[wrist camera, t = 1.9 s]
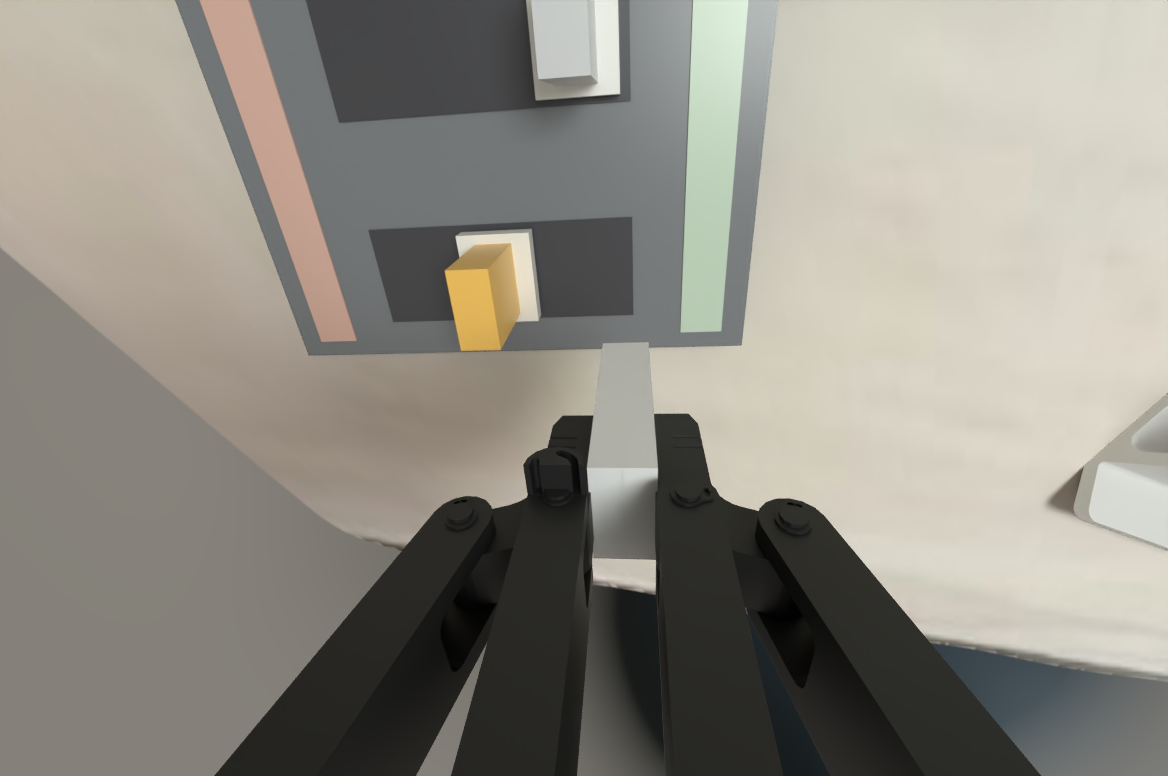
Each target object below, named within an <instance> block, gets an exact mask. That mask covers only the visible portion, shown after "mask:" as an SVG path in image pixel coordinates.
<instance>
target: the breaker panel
mask: <svg viewBox="0 0 1168 776" xmlns="http://www.w3.org/2000/svg"><path fill="white" fill-rule="evenodd" d="M175 1H176V4H177V6H178V9H179V12H180V14H181V17H182V20H183V22H184V25H185V28H186V30H187V33H188V36H189V38H190V41H191V44H192V46H193V49H194V52H195V54H196V57H197V60H198V62H199V65H200V68H201V70H202V73H203V76H204V78H205V81H206V84H207V86H208V89H209V91H210V94H211V97H212V99H213V102H214V105H215V107H216V110H217V113H218V115H219V118H220V121H221V123H222V126H223V129H224V131H225V134H226V137H227V139H228V142H229V145H230V147H231V150H232V153H233V155H234V158H235V161H236V163H237V166H238V169H239V171H240V174H241V177H242V179H243V182H244V184H245V187H246V190H247V192H248V195H249V198H250V200H251V203H252V206H253V208H254V211H255V214H256V216H257V219H258V222H259V224H260V227H261V230H262V232H263V235H264V238H265V240H266V243H267V246H268V248H269V251H270V254H271V256H272V259H273V262H274V264H275V267H276V269H277V272H278V275H279V277H280V280H281V283H282V285H283V288H284V291H285V293H286V296H287V299H288V301H289V304H290V307H291V309H292V312H293V315H294V317H295V320H296V323H297V325H298V328H299V331H300V333H301V336H302V339H303V341H304V344H305V347H306V349H307V352H308V354H309V355H351V354H394V353H437V352H480V351H523V350H566V349H602V347H603V343H639V342H649V348H652V347H695V346H738V345H742V336H743V327H744V317H745V308H746V299H747V289H748V280H749V270H750V261H751V252H752V242H753V233H754V223H755V214H756V205H757V195H758V186H759V176H760V167H761V158H762V148H763V139H764V129H765V120H766V111H767V101H768V92H769V82H770V73H771V63H772V54H773V45H774V35H775V26H776V16H777V7H778V0H175ZM517 229H532V237H533V245H534V254H535V263H536V272H537V281H538V290H539V299H540V308H541V317H540V319H539V321H523V322H516V323H515V325H514V326H513V328H512V330H511V332H510V334H509V336H508V338H507V339H506V341H505V343H504V345H503V347H502V349H501V350H480V351H461V348H460V343H459V338H458V334H457V329H456V324H455V319H454V314H453V309H452V304H451V299H450V295H449V290H448V285H447V280H446V275H445V270H446V269H447V268H448V267H449V266H451V265H452V264H453V263H454V262H455V261H456V260H458V259H459V253H458V247H457V242H456V237H455V236H456V235H458V234H459V233H461V232H476V231H497V230H517Z"/></svg>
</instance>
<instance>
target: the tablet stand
mask: <svg viewBox="0 0 1168 776" xmlns="http://www.w3.org/2000/svg"><path fill="white" fill-rule="evenodd" d="M1074 513H1075V515H1076V516H1077V517H1078V518H1079V519H1081V520H1084V521H1086V522H1089V523H1092V524H1095V525H1098V526H1100V527H1103V528H1106V529H1109V530H1112V531H1114V532H1117V533H1120V534H1123V535H1126V536H1128V537H1131V538H1134V539H1137V540H1140V541H1142V542H1145V543H1148V544H1151V545H1154V546H1156V547H1159V548H1162V549H1165V550H1167V551H1168V393H1167V394H1166V395H1165V396H1164V397H1162V398H1161V399H1160V400H1159V401H1158V402H1157V403H1156V404H1154V405H1153V406H1152V407H1151V408H1150V409H1149V410H1148V411H1146V412H1145V413H1144V414H1143V415H1142V416H1141V417H1139V418H1138V419H1137V420H1136V421H1135V422H1134V423H1133V424H1131V425H1130V426H1129V427H1128V428H1127V429H1126V430H1125V431H1123V432H1122V433H1121V434H1120V435H1119V436H1118V437H1116V438H1115V439H1114V440H1113V441H1112V442H1111V443H1110V444H1108V445H1107V446H1106V447H1105V448H1104V449H1103V450H1102V451H1100V452H1099V453H1098V454H1097V455H1096V456H1095V457H1093V458H1092V459H1091V460H1090V461H1089V462H1088V463H1087V464H1085V465H1084V468H1083V472H1082V476H1081V480H1080V484H1079V487H1078V491H1077V495H1076V499H1075V503H1074Z"/></svg>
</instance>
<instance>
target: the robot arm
mask: <svg viewBox="0 0 1168 776" xmlns="http://www.w3.org/2000/svg"><path fill="white" fill-rule="evenodd" d="M523 466H524V473H525V479H526V486H527V492H528V496H527V498H525V499H524V500H522V501H520V502H518V503H515V504H512V505H508V506H504V507H500V508H495V509H492V508H491V505H490V504H489V503H488V502H487V501H486V500H484V499H481V498H479V497H472V496H465V497H460V498H456V499H453V500H451V501H449V502H447V503H445V504H443V505H442V506H441V507H440V508H438V509H437V510H436V511H435V512H434V513H433V515H432V516H431V517H430V518H429V519H428V520H427V522H426V523H425V524H424V525H423V526H422V528H421V529H420V530H419V531H418V532H417V534H416V535H415V536H414V537H413V538H412V540H411V541H410V542H409V543H408V544H407V546H406V547H405V548H404V549H403V550H402V552H401V553H400V554H399V555H398V556H397V558H396V559H395V560H394V561H393V563H392V564H391V565H390V566H389V567H388V568H387V570H386V571H385V572H384V573H383V575H382V576H381V577H380V578H379V579H378V581H377V582H376V583H375V584H374V585H373V586H372V588H371V589H370V590H369V591H368V592H367V594H366V595H365V596H364V597H363V598H362V600H361V601H360V602H359V603H358V604H357V606H356V607H355V608H354V609H353V610H352V612H351V613H350V614H349V615H348V616H347V618H346V619H345V620H344V621H343V622H342V624H341V625H340V626H339V627H338V628H337V630H336V631H335V632H334V633H333V634H332V636H331V637H330V638H329V639H328V640H327V641H326V643H325V644H324V645H323V646H322V648H321V649H320V650H319V651H318V652H317V654H316V655H315V656H314V657H313V658H312V659H311V661H310V662H309V663H308V664H307V666H306V667H305V668H304V669H303V670H302V671H301V673H300V674H299V675H298V676H297V678H296V679H295V680H294V681H293V682H292V684H291V685H290V686H289V687H288V688H287V689H286V691H285V692H284V693H283V694H282V696H281V697H280V698H279V699H278V700H277V701H276V703H275V704H274V705H273V706H272V707H271V709H270V710H269V711H268V712H267V714H266V715H265V716H264V717H263V718H262V719H261V721H260V722H259V723H258V724H257V725H256V727H255V728H254V729H253V730H252V731H251V733H250V734H249V735H248V736H247V737H246V739H245V740H244V741H243V742H242V743H241V745H240V746H239V747H238V748H237V749H236V751H235V752H234V753H233V754H232V755H231V756H230V758H229V759H228V760H227V761H226V763H225V764H224V765H223V766H222V767H221V768H220V770H219V771H218V772H217V773H216V774H215V776H416V774H417V773H418V771H419V769H420V767H421V765H422V763H423V762H424V759H425V758H426V756H427V754H428V752H429V750H430V748H431V746H432V745H433V743H434V741H435V739H436V737H437V735H438V733H439V731H440V730H441V728H442V726H443V724H444V722H445V720H446V718H447V716H448V715H449V712H450V711H451V709H452V707H453V705H454V703H455V701H456V700H457V698H458V696H459V694H460V692H461V690H462V688H463V686H464V684H465V683H466V681H467V678H468V677H469V675H470V673H471V671H472V669H473V668H474V666H475V664H476V662H477V660H478V658H479V656H480V654H481V653H482V651H483V649H484V647H485V645H486V643H487V646H486V650H485V654H484V657H483V661H482V664H481V668H480V672H479V675H478V679H477V683H476V686H475V690H474V694H473V697H472V701H471V705H470V708H469V712H468V716H467V719H466V723H465V727H464V730H463V734H462V738H461V741H460V745H459V749H458V752H457V756H456V760H455V763H454V767H453V771H452V774H451V776H577V768H578V756H579V743H580V731H581V719H582V707H583V693H584V682H585V670H586V657H587V644H588V633H589V621H590V608H591V596H592V584H593V570H592V555H593V558H611V559H651V560H656V601H657V610H658V631H659V649H660V650H659V651H660V671H661V692H662V712H663V732H664V751H665V752H664V753H665V773H666V776H783V772H782V767H781V763H780V759H779V754H778V750H777V745H776V741H775V737H774V732H773V728H772V724H771V719H770V715H769V710H768V706H767V702H766V697H765V693H764V689H763V684H762V680H761V676H760V671H759V667H758V663H757V658H756V654H755V649H754V645H753V640H752V636H751V632H750V628H749V623H748V619H747V614H746V610H745V607H746V609H747V613H748V615H749V617H750V619H751V621H752V623H753V625H754V626H755V629H756V630H757V632H758V635H759V637H760V638H761V640H762V642H763V644H764V646H765V648H766V650H767V652H768V654H769V656H770V658H771V660H772V662H773V664H774V666H775V668H776V670H777V672H778V674H779V675H780V678H781V680H782V682H783V683H784V686H785V688H786V690H787V692H788V693H789V696H790V697H791V699H792V701H793V703H794V705H795V707H796V709H797V711H798V713H799V715H800V717H801V719H802V721H803V723H804V725H805V727H806V729H807V731H808V733H809V735H810V737H811V739H812V741H813V743H814V745H815V747H816V749H817V751H818V752H819V755H820V756H821V758H822V760H823V762H824V764H825V766H826V768H827V770H828V772H829V774H830V776H1041V775H1040V774H1039V773H1038V772H1037V770H1036V769H1035V768H1034V767H1033V766H1032V764H1031V763H1030V762H1029V761H1028V760H1027V758H1026V757H1025V756H1024V755H1023V754H1022V752H1021V751H1020V750H1019V749H1018V748H1017V746H1016V745H1015V744H1014V743H1013V742H1012V740H1011V739H1010V738H1009V737H1008V736H1007V734H1006V733H1005V732H1004V731H1003V730H1002V728H1000V726H999V725H998V724H997V722H996V721H995V720H994V719H993V718H992V716H991V715H990V714H989V713H988V712H987V710H986V709H985V708H984V707H983V706H982V704H981V703H980V702H979V701H978V700H977V698H976V697H975V696H974V695H973V694H972V692H971V691H970V690H969V689H968V688H967V686H966V685H965V684H964V683H963V682H962V680H961V679H960V678H959V677H958V676H957V674H956V673H955V672H954V671H953V670H952V668H951V667H950V666H949V665H948V664H947V662H946V661H945V660H944V659H943V658H942V657H941V655H940V654H939V653H938V652H937V650H936V649H935V648H934V647H933V646H932V644H931V643H930V642H929V641H928V640H927V638H926V637H925V636H924V635H923V634H922V632H921V631H920V630H919V629H918V628H917V626H916V625H915V624H914V623H913V622H912V620H911V619H910V618H909V617H908V616H907V614H906V613H905V612H904V611H903V610H902V608H901V607H900V606H899V605H898V604H897V602H896V601H895V600H894V599H893V598H892V596H891V595H890V594H889V593H888V592H887V590H886V589H885V588H884V587H883V586H882V585H881V583H880V582H879V581H878V580H877V579H876V577H875V576H874V575H873V574H872V573H871V571H870V570H869V569H868V568H867V567H866V565H865V564H864V563H863V562H862V561H861V559H860V558H859V557H858V556H857V555H856V553H855V552H854V551H853V550H852V549H851V547H850V546H849V545H848V544H847V543H846V541H845V540H844V539H843V538H842V537H841V535H840V534H839V533H838V532H837V531H836V529H835V528H834V527H833V526H832V525H831V523H830V522H829V521H828V520H827V519H826V517H825V516H824V515H823V514H821V513H820V512H819V511H818V510H817V509H816V508H814V507H812V506H810V505H808V504H806V503H804V502H802V501H798V500H793V499H774V500H771V501H768V502H766V503H765V504H764V505H763V506H762V507H761V508H760V509H759V511H756V510H752V509H748V508H744V507H740V506H737V505H734V504H732V503H730V502H728V501H726V500H724V499H723V498H722V497H721V496H719V494H718V492H717V490H716V489H715V488H714V487H713V486H712V484H711V481H710V477H709V472H708V468H707V463H706V458H705V454H704V449H703V445H702V440H701V435H700V431H699V426H698V423H697V422H696V421H695V420H694V419H693V418H692V417H691V416H690V415H689V414H654V409H653V396H652V382H651V369H650V356H649V342H639V343H603V347H602V354H601V362H600V370H599V378H598V385H597V393H596V401H595V409H594V416H562V417H561V418H560V419H559V420H558V421H557V422H556V423H555V424H554V426H553V429H552V433H551V437H550V440H549V444H548V448H545V449H543V450H540V451H537V452H535V453H534V454H532V455H531V456H530V457H528V458H527V460H526V462H525V463H524V465H523ZM487 641H488V642H487Z"/></svg>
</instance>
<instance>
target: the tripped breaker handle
mask: <svg viewBox="0 0 1168 776" xmlns="http://www.w3.org/2000/svg"><path fill="white" fill-rule="evenodd" d="M455 237H456V242H457V247H458V253H459V259H458V260H456V261H455V262H454V263H453V264H452V265H451V266H449V267H448V268H447V269H446V270H445V275H446V280H447V285H448V290H449V295H450V299H451V304H452V309H453V314H454V319H455V324H456V329H457V334H458V338H459V343H460V348H461V351H480V350H501V349H502V347H503V345H504V343H505V341H506V339H507V338H508V336H509V334H510V332H511V330H512V328H513V326H514V325H515V323H516V322H523V321H539V319H540V317H541V308H540V299H539V290H538V281H537V272H536V263H535V254H534V245H533V237H532V229H517V230H497V231H476V232H461V233H459V234H458V235H456V236H455Z"/></svg>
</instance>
